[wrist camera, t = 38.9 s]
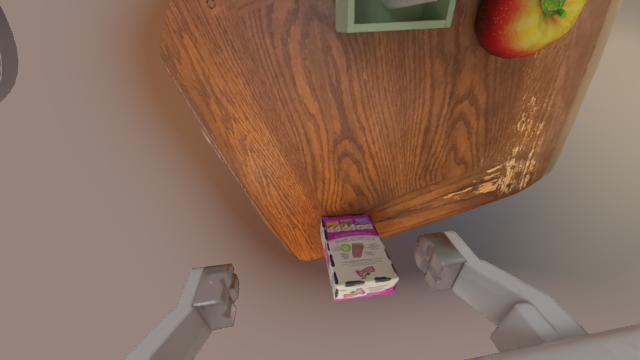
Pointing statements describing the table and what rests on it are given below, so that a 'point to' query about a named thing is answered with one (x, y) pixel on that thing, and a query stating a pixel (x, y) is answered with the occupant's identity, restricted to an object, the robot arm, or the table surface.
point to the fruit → (524, 24)
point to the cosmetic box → (402, 3)
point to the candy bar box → (356, 258)
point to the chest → (391, 16)
